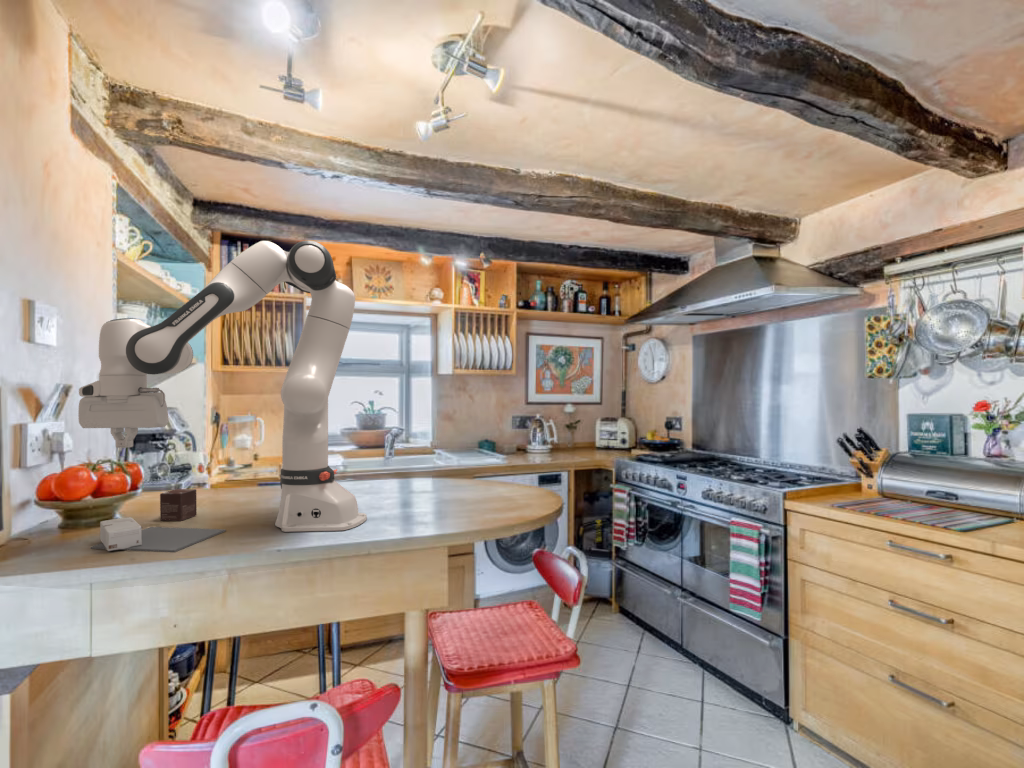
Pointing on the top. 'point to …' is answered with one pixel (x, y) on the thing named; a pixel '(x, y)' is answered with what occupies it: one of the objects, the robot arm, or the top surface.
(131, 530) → the skincare box
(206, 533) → the mat
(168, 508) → the box
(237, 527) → the top surface
